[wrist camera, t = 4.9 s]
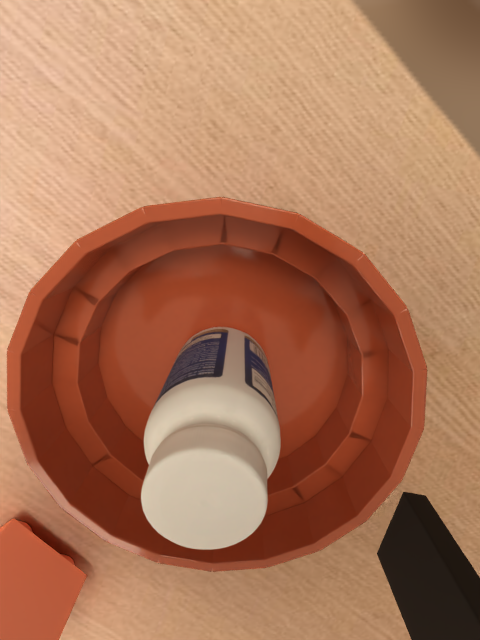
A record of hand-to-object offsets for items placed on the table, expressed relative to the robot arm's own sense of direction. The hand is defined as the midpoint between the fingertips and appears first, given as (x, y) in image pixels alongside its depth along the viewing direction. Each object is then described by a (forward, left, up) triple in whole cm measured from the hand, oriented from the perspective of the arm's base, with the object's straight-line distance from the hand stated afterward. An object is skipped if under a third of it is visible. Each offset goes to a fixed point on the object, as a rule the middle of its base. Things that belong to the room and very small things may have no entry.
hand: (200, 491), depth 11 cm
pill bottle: (0, 0, -9) cm, 9 cm away
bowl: (0, 0, -10) cm, 10 cm away
